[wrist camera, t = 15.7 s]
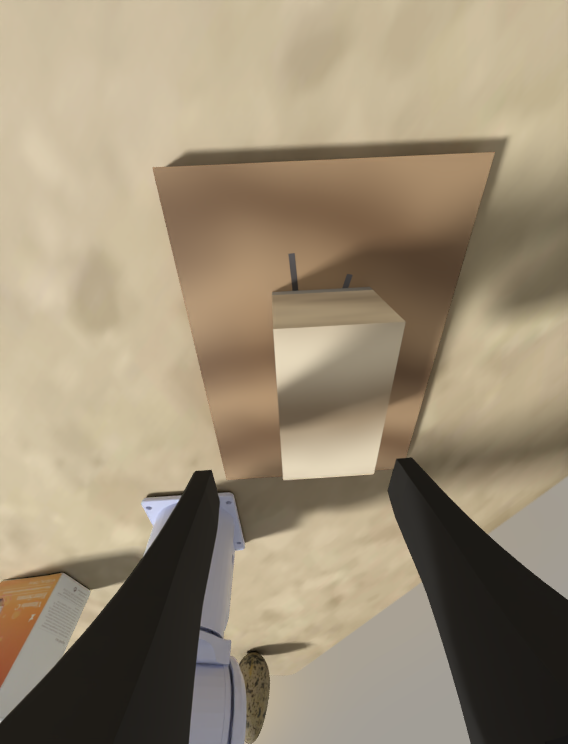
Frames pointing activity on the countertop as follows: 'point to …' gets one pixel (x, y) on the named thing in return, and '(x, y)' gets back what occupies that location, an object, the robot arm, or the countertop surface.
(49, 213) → the countertop surface
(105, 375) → the countertop surface
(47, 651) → the small box
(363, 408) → the block
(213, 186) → the oak board
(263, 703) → the decorative egg
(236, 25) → the countertop surface
